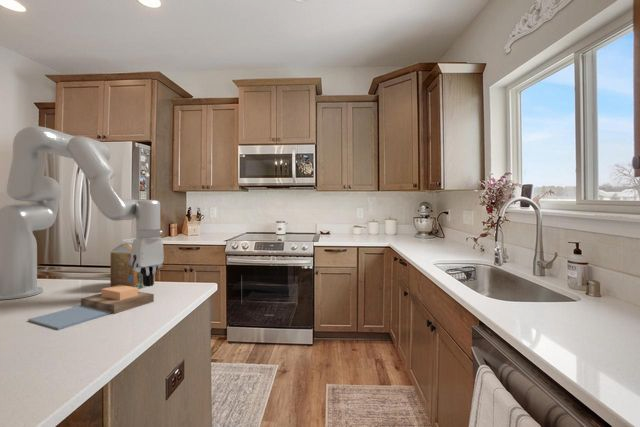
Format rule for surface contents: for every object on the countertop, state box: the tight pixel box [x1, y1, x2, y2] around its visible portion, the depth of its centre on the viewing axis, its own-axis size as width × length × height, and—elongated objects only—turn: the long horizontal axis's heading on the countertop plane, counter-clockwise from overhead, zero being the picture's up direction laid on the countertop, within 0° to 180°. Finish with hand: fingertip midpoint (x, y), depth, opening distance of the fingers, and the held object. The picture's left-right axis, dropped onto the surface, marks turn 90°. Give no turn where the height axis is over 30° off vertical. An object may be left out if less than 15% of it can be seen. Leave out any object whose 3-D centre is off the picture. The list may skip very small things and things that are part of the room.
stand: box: [80, 290, 155, 315], centre depth 99 cm, size 16×13×2 cm
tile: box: [101, 285, 139, 300], centre depth 99 cm, size 9×6×2 cm, turn 67°
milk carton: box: [109, 237, 156, 290], centre depth 120 cm, size 11×11×19 cm
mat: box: [27, 304, 113, 331], centre depth 86 cm, size 14×13×1 cm
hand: (148, 285), depth 108 cm, fingers closed
